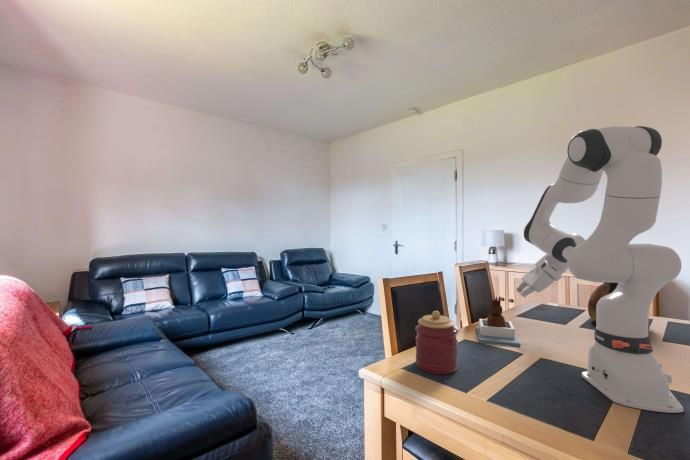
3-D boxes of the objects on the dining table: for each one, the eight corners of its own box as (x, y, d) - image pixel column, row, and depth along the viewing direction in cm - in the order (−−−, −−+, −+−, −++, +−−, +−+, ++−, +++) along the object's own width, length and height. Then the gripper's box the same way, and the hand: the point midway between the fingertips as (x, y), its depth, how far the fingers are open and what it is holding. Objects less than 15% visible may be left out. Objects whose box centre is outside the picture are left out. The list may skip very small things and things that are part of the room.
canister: (465, 365, 103) (464, 310, 103) (445, 379, 94) (444, 319, 94) (429, 354, 112) (428, 304, 112) (407, 366, 103) (407, 311, 103)
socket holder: (520, 346, 118) (520, 333, 118) (479, 342, 123) (478, 330, 123) (512, 331, 135) (512, 320, 135) (476, 328, 140) (476, 317, 140)
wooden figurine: (507, 335, 127) (507, 297, 127) (493, 335, 127) (492, 297, 127) (499, 329, 134) (498, 293, 134) (485, 329, 134) (485, 293, 134)
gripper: (534, 261, 135) (509, 283, 138) (547, 266, 116) (517, 292, 119) (547, 272, 133) (520, 294, 137) (562, 279, 114) (531, 304, 117)
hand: (519, 293), depth 127 cm, fingers open, 8 cm apart
